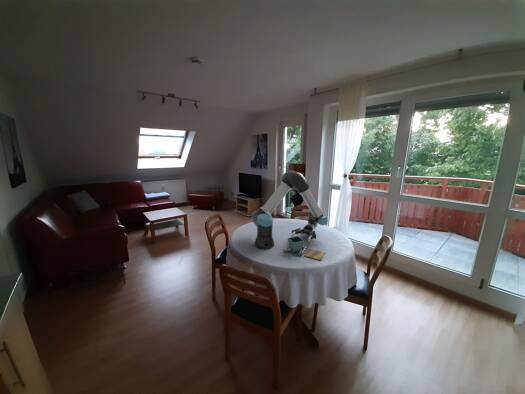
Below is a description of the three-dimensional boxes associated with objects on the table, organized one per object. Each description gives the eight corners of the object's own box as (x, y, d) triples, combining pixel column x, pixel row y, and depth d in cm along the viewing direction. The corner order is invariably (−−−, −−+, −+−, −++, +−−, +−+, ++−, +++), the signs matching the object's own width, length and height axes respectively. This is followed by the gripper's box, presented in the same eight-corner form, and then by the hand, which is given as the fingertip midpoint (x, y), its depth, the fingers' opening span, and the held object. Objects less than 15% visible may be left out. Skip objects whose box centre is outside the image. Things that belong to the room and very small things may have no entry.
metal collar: (283, 251, 152) (283, 249, 152) (290, 244, 163) (290, 242, 163) (300, 256, 146) (301, 254, 145) (307, 248, 157) (307, 247, 157)
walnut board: (303, 256, 146) (303, 255, 146) (308, 249, 157) (308, 248, 156) (320, 260, 141) (320, 259, 140) (324, 253, 151) (325, 252, 151)
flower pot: (293, 254, 149) (294, 242, 147) (287, 248, 157) (287, 237, 155) (303, 252, 152) (304, 240, 150) (297, 246, 160) (297, 235, 158)
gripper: (323, 236, 173) (315, 246, 155) (294, 229, 185) (285, 238, 167) (323, 227, 171) (316, 237, 153) (295, 222, 183) (285, 230, 165)
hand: (300, 238), depth 160 cm, fingers open, 13 cm apart
